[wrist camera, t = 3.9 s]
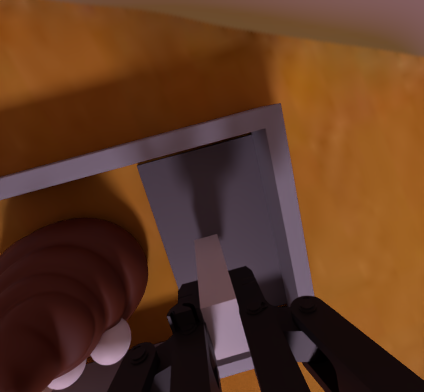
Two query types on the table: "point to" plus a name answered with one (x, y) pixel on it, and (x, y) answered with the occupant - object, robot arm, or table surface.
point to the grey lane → (206, 207)
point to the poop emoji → (67, 302)
